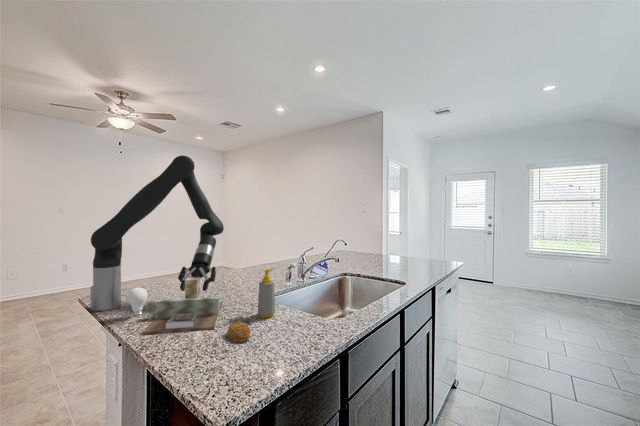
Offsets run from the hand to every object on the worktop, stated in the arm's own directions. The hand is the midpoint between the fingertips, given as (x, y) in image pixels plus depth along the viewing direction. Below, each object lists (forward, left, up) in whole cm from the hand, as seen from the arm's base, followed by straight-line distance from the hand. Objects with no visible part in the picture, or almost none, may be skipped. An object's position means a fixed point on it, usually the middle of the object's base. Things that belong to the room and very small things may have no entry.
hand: (193, 290), depth 115 cm
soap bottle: (+29, -10, -9) cm, 32 cm away
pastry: (+20, -27, -9) cm, 35 cm away
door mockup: (0, -7, -8) cm, 11 cm away
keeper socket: (0, -15, -8) cm, 18 cm away
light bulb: (-19, -2, -9) cm, 21 cm away
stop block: (0, 0, -7) cm, 7 cm away
